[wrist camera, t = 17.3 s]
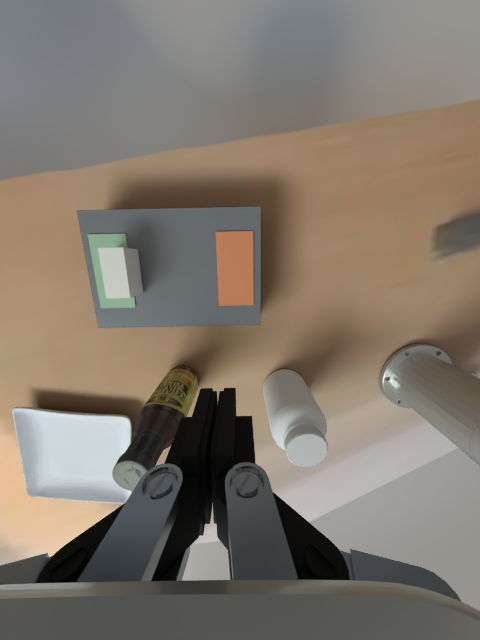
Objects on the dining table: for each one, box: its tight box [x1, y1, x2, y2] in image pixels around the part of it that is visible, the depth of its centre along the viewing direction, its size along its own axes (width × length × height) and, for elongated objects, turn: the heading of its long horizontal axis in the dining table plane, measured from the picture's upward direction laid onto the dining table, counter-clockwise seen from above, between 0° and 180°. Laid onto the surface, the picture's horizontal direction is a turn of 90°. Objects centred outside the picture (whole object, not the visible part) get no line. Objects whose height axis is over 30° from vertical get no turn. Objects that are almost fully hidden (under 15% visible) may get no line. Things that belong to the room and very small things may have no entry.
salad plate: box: [12, 407, 133, 504], centre depth 45 cm, size 21×21×3 cm
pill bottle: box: [263, 369, 328, 467], centre depth 36 cm, size 8×8×15 cm
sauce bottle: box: [112, 366, 199, 491], centre depth 33 cm, size 7×6×20 cm
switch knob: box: [98, 247, 143, 299], centre depth 30 cm, size 3×6×4 cm, turn 1°
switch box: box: [77, 206, 261, 328], centre depth 35 cm, size 24×16×6 cm, turn 91°
